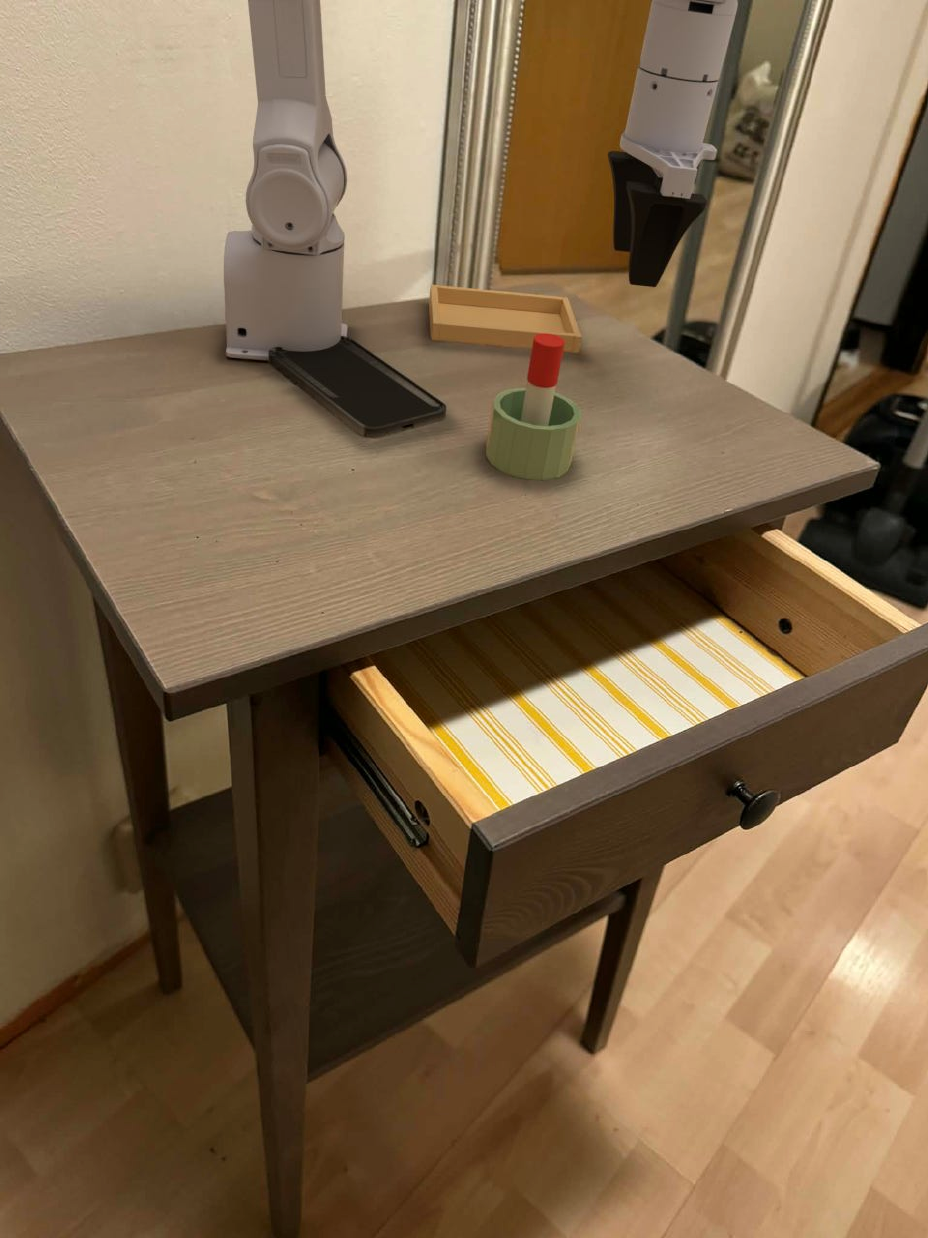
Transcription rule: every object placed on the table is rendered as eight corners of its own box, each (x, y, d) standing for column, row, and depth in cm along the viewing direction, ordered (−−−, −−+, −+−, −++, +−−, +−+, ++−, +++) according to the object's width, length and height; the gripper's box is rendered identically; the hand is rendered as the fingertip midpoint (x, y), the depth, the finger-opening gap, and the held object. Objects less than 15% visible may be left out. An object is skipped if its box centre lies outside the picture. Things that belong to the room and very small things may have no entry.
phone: (344, 333, 80) (452, 408, 72) (344, 346, 81) (451, 422, 72) (261, 349, 76) (366, 431, 67) (261, 362, 77) (365, 445, 68)
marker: (515, 463, 68) (535, 344, 62) (512, 448, 69) (532, 331, 64) (544, 465, 68) (566, 347, 62) (540, 450, 70) (562, 334, 64)
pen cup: (488, 482, 66) (497, 425, 64) (482, 439, 71) (490, 383, 68) (574, 488, 67) (587, 432, 64) (563, 445, 72) (574, 390, 69)
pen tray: (431, 344, 83) (433, 322, 82) (428, 304, 90) (430, 284, 89) (577, 357, 85) (581, 336, 83) (563, 317, 92) (567, 297, 91)
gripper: (761, 102, 61) (703, 306, 70) (709, 61, 72) (665, 241, 81) (655, 88, 60) (610, 296, 69) (619, 49, 72) (584, 232, 80)
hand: (634, 266), depth 75 cm, fingers open, 7 cm apart
